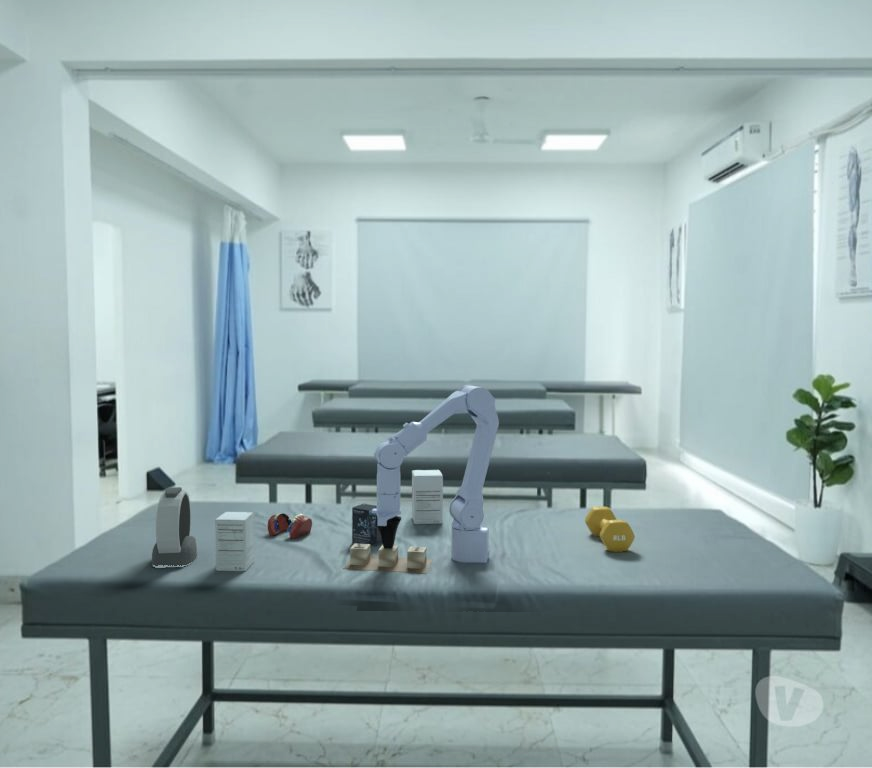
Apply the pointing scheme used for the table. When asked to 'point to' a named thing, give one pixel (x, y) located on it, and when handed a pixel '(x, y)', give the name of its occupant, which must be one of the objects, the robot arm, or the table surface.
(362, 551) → the letter t cube
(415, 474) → the supplement box
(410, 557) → the block one
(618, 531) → the dumbbell
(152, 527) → the table surface
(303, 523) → the teeth model
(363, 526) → the box
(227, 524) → the supplement box
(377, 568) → the walnut board
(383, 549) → the plain block
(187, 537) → the alarm clock
